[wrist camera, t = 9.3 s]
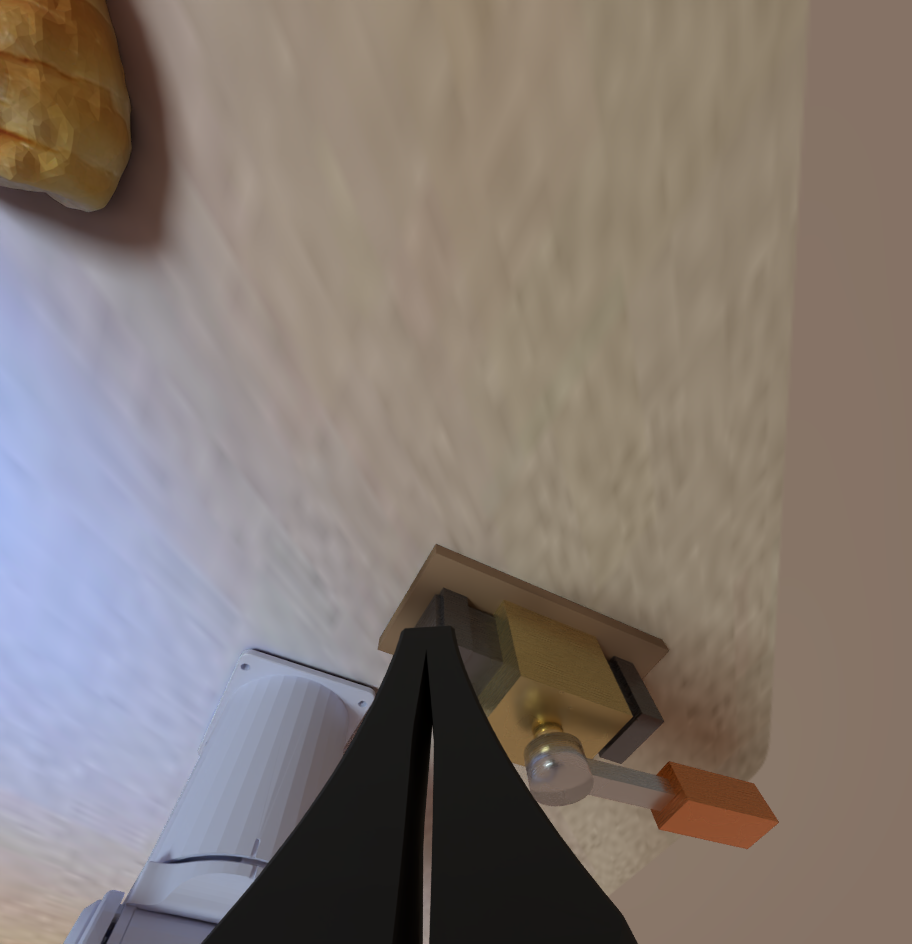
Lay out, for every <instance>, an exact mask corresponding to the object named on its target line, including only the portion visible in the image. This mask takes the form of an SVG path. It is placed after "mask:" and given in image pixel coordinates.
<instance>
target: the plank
mask: <svg viewBox="0 0 912 944" xmlns="http://www.w3.org/2000/svg"><path fill="white" fill-rule="evenodd" d="M443 587H444V588H446V589H449V590H451V591H454V592H456V593H459V594H461V595H464V596H466V597H467V599H468V606H469V607H471V608H474V609H476V610H479V611H481V612H484V613H486V614H489V615H491V616H492V615H493V614H494V612H495V611H496V609H497V608H498V607H499V605H500V604H501V602H502V601H503V600H506V601H509V602H511V603H514V604H516V605H519V606H521V607H524V608H526V609H529V610H531V611H533V612H536V613H538V614H541V615H543V616H546V617H548V618H551V619H553V620H556V621H558V622H560V623H563V624H565V625H568V626H570V627H573V628H575V629H578V630H580V631H583V632H585V633H587V634H590V635H592V636H595V637H596V639H597V641H598V643H599V645H600V647H601V649H602V652H603V654H604V656H605V658H606V660H607V661H608V662H609V661H610V660H611V658H612V657H613V656H616V657H619V658H621V659H624V660H626V661H629V662H631V663H633V664H634V666H635V668H636V670H637V671H638V673H639V675H640V677H641V679H643V678H644V677H645V676H646V675H647V674H648V672H649V671H650V670H651V669H652V668H653V667H654V666H655V665H656V664H657V663H658V662H659V661H660V660H661V659H662V657H663V656H664V655H665V654H666V653H667V652H668V651H669V650H668V648H667V647H666V645H665V644H664V642H663V641H662V640H661V639H659V638H656V637H654V636H651V635H649V634H647V633H644V632H642V631H640V630H637V629H635V628H633V627H630V626H628V625H626V624H623V623H621V622H618V621H616V620H614V619H611V618H609V617H607V616H604V615H602V614H600V613H597V612H595V611H593V610H590V609H588V608H585V607H583V606H581V605H578V604H576V603H574V602H571V601H569V600H567V599H564V598H562V597H560V596H557V595H555V594H552V593H550V592H548V591H545V590H543V589H541V588H538V587H536V586H534V585H531V584H529V583H527V582H524V581H522V580H519V579H517V578H515V577H512V576H510V575H508V574H505V573H503V572H501V571H498V570H496V569H493V568H491V567H489V566H486V565H484V564H482V563H479V562H477V561H475V560H472V559H470V558H468V557H465V556H463V555H460V554H458V553H456V552H453V551H451V550H449V549H446V548H444V547H442V546H439V545H437V544H436V545H435V546H434V548H433V550H432V551H431V553H430V555H429V556H428V558H427V560H426V561H425V563H424V565H423V567H422V568H421V570H420V572H419V573H418V575H417V577H416V578H415V580H414V582H413V583H412V585H411V587H410V588H409V590H408V592H407V593H406V595H405V597H404V598H403V600H402V602H401V603H400V605H399V607H398V608H397V610H396V612H395V613H394V615H393V617H392V619H391V620H390V622H389V624H388V625H387V627H386V629H385V630H384V632H383V634H382V635H381V637H380V639H379V645H378V650H381V651H383V652H386V653H389V654H392V655H394V652H395V650H396V647H397V644H398V641H399V637H400V633H401V631H402V630H404V629H405V628H414V627H415V625H416V624H417V622H418V621H419V619H420V618H421V616H422V614H423V613H424V611H425V610H426V608H427V606H428V605H429V603H430V602H431V600H432V598H433V597H434V595H435V594H438V595H439V594H440V592H441V591H442V589H443Z"/></svg>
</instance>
